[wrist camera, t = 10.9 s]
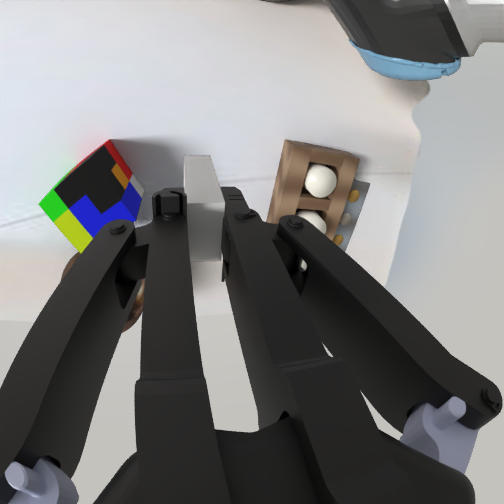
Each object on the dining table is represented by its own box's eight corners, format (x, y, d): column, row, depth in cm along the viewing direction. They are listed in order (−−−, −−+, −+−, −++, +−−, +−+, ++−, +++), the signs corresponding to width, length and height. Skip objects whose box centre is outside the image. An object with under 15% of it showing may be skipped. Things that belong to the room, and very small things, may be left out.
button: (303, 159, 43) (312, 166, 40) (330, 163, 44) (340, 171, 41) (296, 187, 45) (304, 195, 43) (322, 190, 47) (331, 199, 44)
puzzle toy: (144, 189, 41) (136, 220, 33) (98, 221, 42) (83, 256, 34) (109, 139, 35) (89, 158, 27) (63, 176, 35) (38, 203, 28)
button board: (284, 139, 41) (293, 145, 38) (376, 159, 47) (389, 167, 44) (254, 271, 55) (259, 284, 52) (336, 269, 61) (344, 281, 58)
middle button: (295, 206, 46) (303, 217, 43) (321, 209, 47) (330, 219, 45) (288, 232, 49) (295, 243, 46) (313, 233, 50) (321, 244, 47)
